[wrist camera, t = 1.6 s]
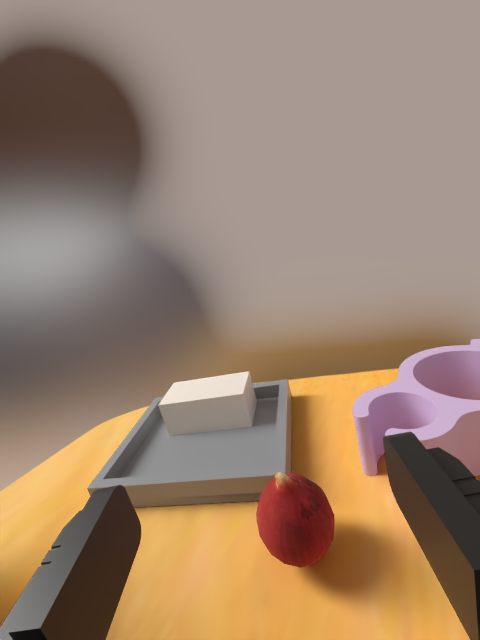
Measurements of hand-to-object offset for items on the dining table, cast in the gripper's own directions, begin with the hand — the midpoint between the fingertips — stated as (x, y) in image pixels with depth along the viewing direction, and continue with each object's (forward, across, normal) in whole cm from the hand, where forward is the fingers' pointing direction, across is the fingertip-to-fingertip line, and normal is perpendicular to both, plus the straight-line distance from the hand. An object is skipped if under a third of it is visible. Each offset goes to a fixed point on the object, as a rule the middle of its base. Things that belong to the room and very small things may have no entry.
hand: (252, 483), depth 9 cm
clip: (+20, -17, +18) cm, 32 cm away
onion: (+11, 0, +18) cm, 21 cm away
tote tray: (+26, +10, +18) cm, 34 cm away
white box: (+31, +10, +17) cm, 36 cm away
